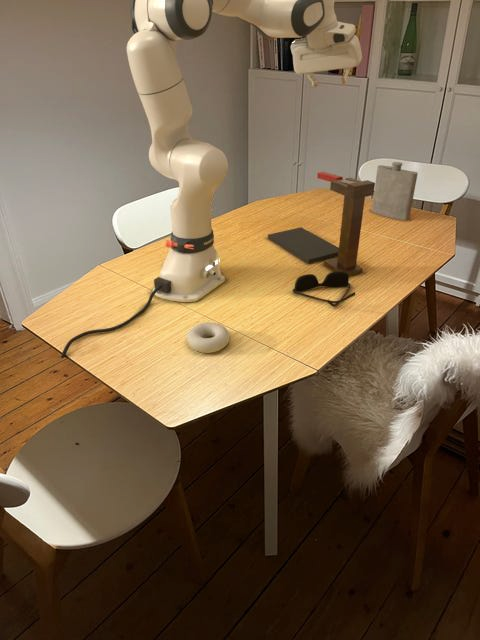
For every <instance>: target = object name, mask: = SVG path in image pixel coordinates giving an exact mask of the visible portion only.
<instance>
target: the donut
mask: <svg viewBox="0 0 480 640" xmlns="http://www.w3.org/2000/svg"><path fill="white" fill-rule="evenodd" d="M186 341H187V344H188V345H189V347H190V348H191V349H193V350H194V351H196V352H199V353H203V354H206V353H207V354H210V353H215V352H218V351H221V350H223V349H224V348H225V347H226V346H227V345H228V344H229V341H230V333H229V330H228V329H227V328H226V327H225V326H224V325H222V324H220V323H217V322H210V321H209V322H201V323H198V324H196V325H194V326H192V327H191V328H190V329H189V331H188V332H187V334H186Z"/></svg>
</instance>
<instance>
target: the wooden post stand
mask: <svg viewBox="0 0 480 640" xmlns="http://www.w3.org/2000/svg"><path fill="white" fill-rule="evenodd" d="M344 179H345V180H349V181H353V182H355V183H350V184H345V183H342V182H340V181H337V180H334V181H331V182H330V185H329V186H330V188H329V190H330V191H332V192H334V193H337V194H340V195H341V196H343V205H342V213H341V224H340V232H339V240H338V241H339V243H338V247H339V251H338V256H337V257H333V258H329V259H326V260H323V265H322V266H324V267H325V268H327V269H329V270H330V271H332V272H336V271H342V272H346V273H347V274H348V276H349V277H352V276H357V275H360V274H362V273H363V272H364V268H363V267H362V266H361V265H359V264H357V262H358V254H359V247H360V246H359V245H360V240H361V239H360V238H361V230H362V223H363V215H364V210H365V209H364V207H365V201H366V197H372V196H374V190H375V183H376V182H374V181H372V180H368V179H367V180H362V181H361V180H359V179H356V178H353V177H346V178H344Z"/></svg>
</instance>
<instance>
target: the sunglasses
mask: <svg viewBox="0 0 480 640" xmlns="http://www.w3.org/2000/svg"><path fill="white" fill-rule="evenodd" d="M349 281H350V276H348V274H347V273H346V272H342V271H336V272H334V271H332V272H329V273H327V274H326V276H325V277H324V278H323V281H322V282H319V279H318V278H317V276H316V275H315V274H313V273H307V274H303V275H300V276H299V277H297V278H296V279H295V283H294V288H292V292H293V294H296V295H299V296H303V297H305V298H309V299H313V300H316V301H320V302H324V303H327V304H328V305H330V306H332V307H337V306H338V305H339V304H340V303H343V302H345V301H347V300H348V299H351V298H353V297H355V296H356V292H355V291H353V292H351V293H350V294H349V295H347V293H348V292H349V290H350V288H351V284H350V283H349ZM319 287H322V288H323V287H325V288H344V287H345V288H346V287H347V289H346V291H345V293H344V294H343V295H342V297H341V298H340V299H339V300H331V299H324V298H321V297H317V296H313V295H310V294H306V293H303V292H305V291H309V290H313V289H316V288H319Z"/></svg>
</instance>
